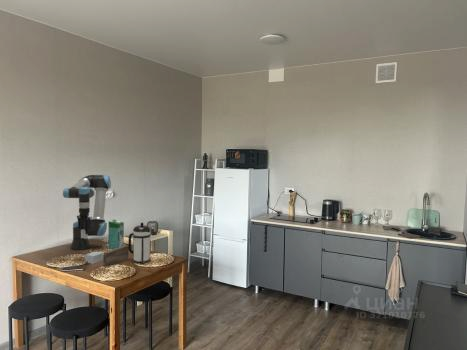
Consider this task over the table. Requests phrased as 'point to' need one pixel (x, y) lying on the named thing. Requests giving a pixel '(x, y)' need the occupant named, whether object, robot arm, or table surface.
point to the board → (115, 255)
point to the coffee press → (140, 243)
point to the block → (94, 257)
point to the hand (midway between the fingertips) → (84, 238)
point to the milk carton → (115, 234)
